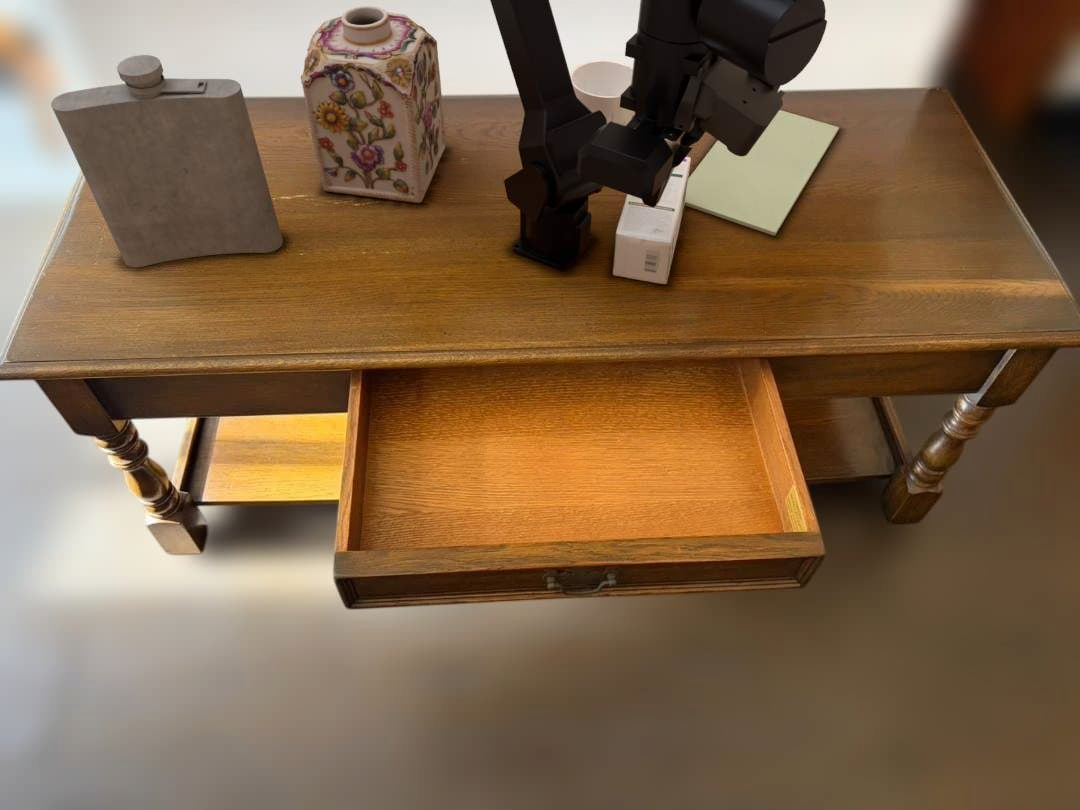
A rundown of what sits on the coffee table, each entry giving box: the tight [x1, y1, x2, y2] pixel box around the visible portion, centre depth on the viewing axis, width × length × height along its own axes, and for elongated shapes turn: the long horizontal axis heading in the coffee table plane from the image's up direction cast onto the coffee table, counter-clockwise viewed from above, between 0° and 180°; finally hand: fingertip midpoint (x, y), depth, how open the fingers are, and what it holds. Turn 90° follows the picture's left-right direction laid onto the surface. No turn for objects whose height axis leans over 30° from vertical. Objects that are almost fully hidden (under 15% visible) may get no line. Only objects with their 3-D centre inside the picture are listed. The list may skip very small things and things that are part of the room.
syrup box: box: [612, 156, 692, 285], centre depth 87 cm, size 6×6×14 cm
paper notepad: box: [684, 109, 840, 237], centre depth 98 cm, size 12×24×1 cm, turn 151°
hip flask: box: [50, 54, 284, 268], centre depth 79 cm, size 16×4×20 cm, turn 102°
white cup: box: [570, 59, 635, 126], centre depth 95 cm, size 8×8×10 cm
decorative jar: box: [300, 5, 446, 204], centre depth 89 cm, size 12×12×18 cm
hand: (650, 203), depth 72 cm, fingers closed
